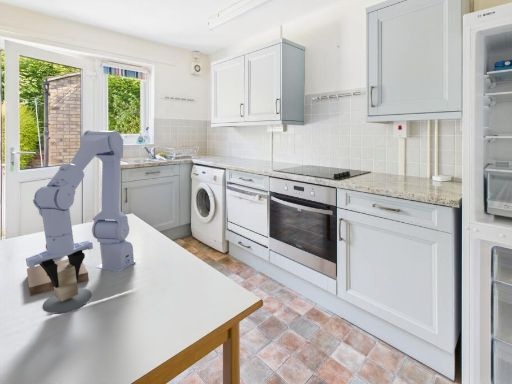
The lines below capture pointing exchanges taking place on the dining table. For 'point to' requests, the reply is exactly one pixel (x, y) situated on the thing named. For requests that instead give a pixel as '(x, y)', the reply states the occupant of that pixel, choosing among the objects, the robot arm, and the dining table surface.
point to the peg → (66, 282)
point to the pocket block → (42, 282)
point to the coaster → (67, 302)
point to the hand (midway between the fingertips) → (65, 282)
